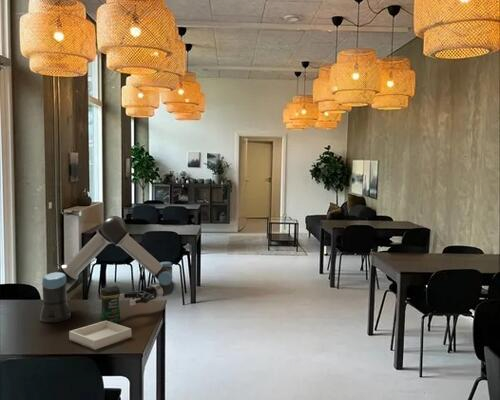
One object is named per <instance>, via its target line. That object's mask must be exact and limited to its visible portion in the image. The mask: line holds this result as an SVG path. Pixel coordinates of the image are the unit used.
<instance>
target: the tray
mask: <svg viewBox="0 0 500 400" xmlns="http://www.w3.org/2000/svg"><path fill="white" fill-rule="evenodd" d="M132 336H133V335H132V327H131V328H130V327H128V326H124V325H122V324H118V323H112V322H109V321H102V322H101V321H99V322H95V323H93V324H89V325H87V326H83V327H82V326H81V327H79V328H76V329H72V330H69V331H68V337H69V338H68V339H69V341H71V342H74V343H76V344H79V345H80V346H84V347H86V348H89V349H91V350H94V351H95V350H99V349H102V348H104V347H107V346H109V345H112V344H115V343H116V344H117V343H118V342H121V341H124V340H127V339H129V338H132Z"/></svg>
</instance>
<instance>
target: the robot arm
mask: <svg viewBox="0 0 500 400" xmlns="http://www.w3.org/2000/svg"><path fill="white" fill-rule="evenodd" d="M129 234H130V233H129V231H127V229H126V222H125V219H123V217H120V216H118V215H112V216H109V217H107V218H106V219H105V220H104V221H103V222H102V224H100V226H99V227H98V228H97V229H96V234H95V235H93V237H92V238H91V239H90V240H89V241H88V242H87V243H86V244H85V245H84V246H83V247H82V248H81V249H80V250H79V251H78V252H77V253H76V254H75V255H74V256H73V257H72V258H71V259H70V260H69V262H67V263H66V264H62V265H61V266H60V267H59V268H58V269H57V270H56V271H55V272H50V273H47V274H44V275H43V277H42V280H41V284H42V307H41V312H40V314H39V321H40V322H42V323H58V322H59V323H60V322H63V321H66V320H69V319H71V313H72V312H71V309H70V308H69V307H70V306H69V305H68V301H67V299H68V298H67V294H68V293H67V291H68V290H69V289H70V288H71V287H72V286H73V285H74V283H76V282H77V281H78V280H79V275H80V274H81V272H82V271H83V270H84V269H86V267H88V265H89V264H91V262H92V261H93V260H94V259H95V258H96V257H97V256H98V255H99V254H100V253H101V252H102V251H103V250H104V249H105V248H106V247H107V246H108V245H110V244H114V246H116V247H119V248H121V249H122V250H124V252H126V253H127V254H128V255H129V256H130V257H131V258H132V259H133V260H135V262H137V263H138V264H139V265H141V266H142V267H143V268H144V269H145V270H146V271H147V272H148V273H150V274H151V275H152V276H153V277H154V278H155V279H156V280H157V281H158V284H154V285H151V286H147V287H145V288H144V290H139V289H138V290H133V291H132V290H131V291H125V292H124V291H122V292H121V293H120V296H119V301H122V300H125V299H130V298H134V299H130V300H129V306H135V305H138V304H148V302H150V301H152V300H155V299H156V300H158V299H159V298H163V297H167V296H170V295H173V294H175V293H176V291H177V284H176V282H175V281H173V263H172V262H171V261H161V262H160V261H158V260H157V259H156V258H155V257H154V256H153V255H152V254H151V253H150V252H148V251H147V250H146V249H145V248H144V247H143V246H142V245H140V244H139V243H138V242H137V241H136V240H135V239H134V238H133V237H131V236H130V235H129Z"/></svg>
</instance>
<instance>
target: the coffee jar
mask: <svg viewBox="0 0 500 400" xmlns="http://www.w3.org/2000/svg"><path fill="white" fill-rule="evenodd" d="M100 289H101V290H100V293H99V295H100V298H101V312H100V322H102V321H109V322H112V323H115V324H118V323H120V322H121V312H120V303H119V302H120V300H119V296H120V294H121V291H120V287H118V286H117V285H115V286H108V287H102V288H100Z"/></svg>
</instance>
